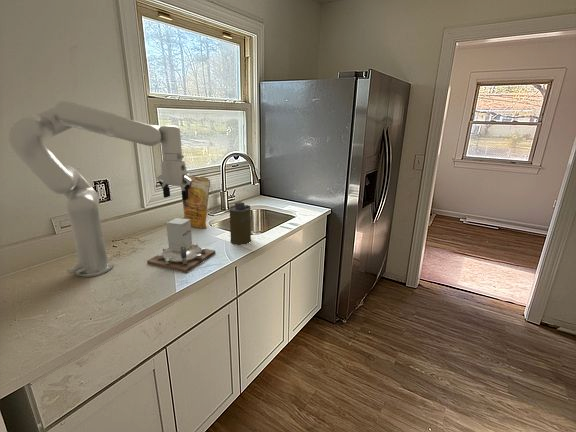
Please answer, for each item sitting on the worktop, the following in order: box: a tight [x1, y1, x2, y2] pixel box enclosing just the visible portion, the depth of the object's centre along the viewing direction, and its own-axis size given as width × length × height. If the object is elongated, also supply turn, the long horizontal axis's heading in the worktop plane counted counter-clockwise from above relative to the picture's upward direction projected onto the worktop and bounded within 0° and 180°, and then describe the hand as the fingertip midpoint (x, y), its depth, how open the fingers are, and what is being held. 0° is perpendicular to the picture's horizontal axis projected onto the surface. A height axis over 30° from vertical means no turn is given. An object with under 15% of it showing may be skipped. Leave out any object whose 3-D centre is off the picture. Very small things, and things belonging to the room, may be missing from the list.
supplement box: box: [165, 217, 193, 251], centre depth 133 cm, size 7×7×13 cm
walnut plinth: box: [146, 248, 217, 274], centre depth 133 cm, size 20×20×4 cm
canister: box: [228, 201, 252, 246], centre depth 151 cm, size 11×10×20 cm
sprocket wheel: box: [157, 242, 206, 264], centre depth 132 cm, size 19×19×6 cm
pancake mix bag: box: [180, 175, 211, 229], centre depth 170 cm, size 7×19×28 cm, turn 64°
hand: (176, 198), depth 129 cm, fingers open, 9 cm apart
